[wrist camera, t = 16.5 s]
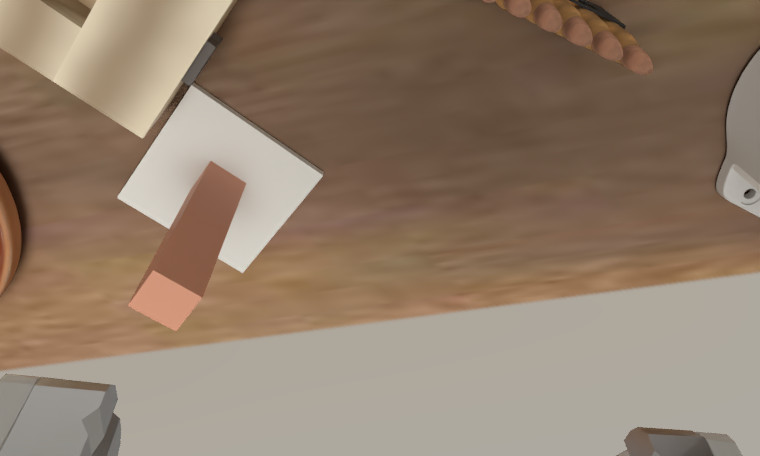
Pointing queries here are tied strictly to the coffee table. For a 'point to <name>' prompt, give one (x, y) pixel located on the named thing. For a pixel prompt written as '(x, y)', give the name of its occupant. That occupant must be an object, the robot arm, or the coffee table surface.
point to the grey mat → (234, 154)
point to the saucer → (8, 236)
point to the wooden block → (189, 249)
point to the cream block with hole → (116, 49)
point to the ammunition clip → (583, 28)
